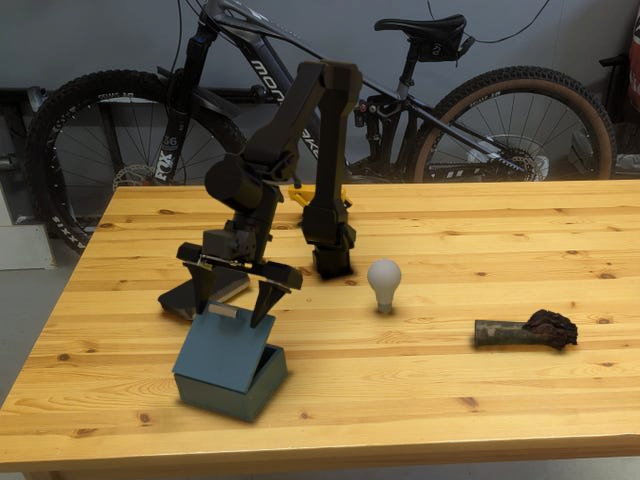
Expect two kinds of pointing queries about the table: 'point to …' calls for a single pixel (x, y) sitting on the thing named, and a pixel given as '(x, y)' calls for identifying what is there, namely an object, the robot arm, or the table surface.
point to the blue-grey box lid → (223, 346)
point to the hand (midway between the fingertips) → (225, 321)
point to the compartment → (235, 402)
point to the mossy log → (528, 331)
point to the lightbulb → (384, 282)
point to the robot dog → (309, 194)
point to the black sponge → (224, 288)
